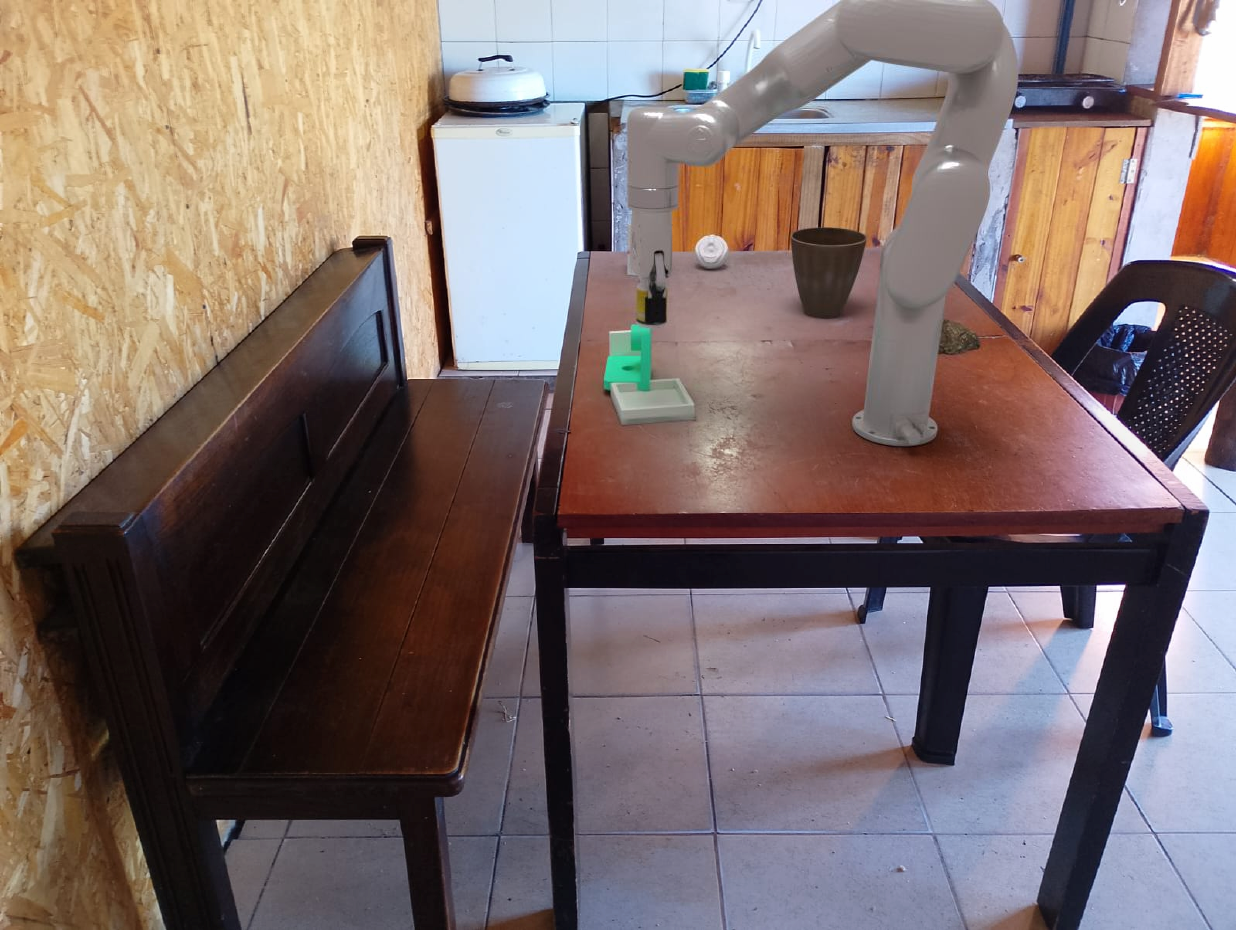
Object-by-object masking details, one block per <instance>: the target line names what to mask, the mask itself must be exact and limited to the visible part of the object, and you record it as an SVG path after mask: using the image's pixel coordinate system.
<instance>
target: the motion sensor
mask: <svg viewBox="0 0 1236 930" xmlns="http://www.w3.org/2000/svg"><path fill="white" fill-rule="evenodd" d="M728 256H729V246H728V244H727V242H726V241H725V239H724V238H723V237H721V236H718V235H715V234H710V235H705V236H703V237H702V238H700V239H699V240H698V241H697V243H696V245H695V248H694V257H695V260H696V261H697V263H698V264H699V265H700V266H702V267H703V268H704V269H710V270H714V269H718V268H720V267H721V266H723V265H725V263H726V261H727V259H728V258H729V257H728Z"/></svg>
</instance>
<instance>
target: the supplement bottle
mask: <svg viewBox="0 0 1236 930" xmlns="http://www.w3.org/2000/svg"><path fill="white" fill-rule="evenodd" d="M650 277H655V273H650ZM665 278H666V277H665ZM666 279H667V278H666ZM639 280H640V281H641V282H639ZM653 284H655V281H651V287H652V285H653ZM645 297H647V285H646V277H644V279H640V278H639V277H638V283H637V285H636V325H638V326H640V327H644V328H651V329H661V328H662V327H664V326H666V325H667V322H668V319H667V318H668V284H667V283H666V321H665V322H664V323H646V322H645Z"/></svg>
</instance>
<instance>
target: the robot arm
mask: <svg viewBox="0 0 1236 930" xmlns="http://www.w3.org/2000/svg"><path fill="white" fill-rule="evenodd" d="M871 61H873V62H879V63H884V64H891V65H896V66H902V67H909V68H910V67H911V68H917V69H924V70H931V71H937V72H944V73H948V74H947V75H948V83H947V84H948V85H947V90H946V94H945V97H944V100H943V103H942V106H941V108H940V112H939V113H938V118H937V120H936V123H935V125H934V128H933V130H932V134H931V135H930V138H929V139H928V143H927V146H926V148H925V150H924V152H923V155H922V156H921V159H920V161H919V163H918V164H917V166H916V168H915V171H914V173H913V176H912V181H911V194H910V196H909V200H908V202H907V204H906V208H905V210H904V211H903V215H902V218H901V221H900V223H899V225H898V226H896V227H895V228H894V229H893V230H892V231H890V233H889V235H888V236H887V237H886V239H885V241H884V243H883V245H882V249H881V252H880V261H879V274H878V284H877V296H876V306H875V315H874V322H873V329H872V337H871V339H872V340H871V345H870V346H871V347H870V356H869V364H868V372H867V380H866V381H867V383H866V390H865V399H864V400H865V401H864V408H863V409H862V410H860V411H858V412H857V413H856V414H855V415H854V416H853V417H852V422H851V426H852V429H853V431H855V433H856V434H858V436H860V437H862V438H864V439H866V440H868V441H870V442H874V443H877V444H882V445H886V446H893V447H912V446H919V445H925V444H926V443H930V442H931V441H933V440H934V439H935V438H936V437H937V434H938V424H937V423H936V421H935V420H934V419H933V418H931V417H930V409H931V404H932V403H931V401H932V395H933V388H934V382H935V376H936V368H937V363H938V362H937V361H938V355H939V354H938V349H939V342H940V337H941V331H942V324H943V319H944V316H945V315H944V314H945V307H946V302H947V301H946V299H947V294H948V293H949V292H950V291H951V289H952V288H953V287H954V284H955V282H956V281H957V278H958V277H959V274H960V272H961V270H962V268H963V265H964V262H965V261H966V258H967V256H968V254H969V252H970V249H971V247H972V245H973V242H974V240H975V238H976V236H977V233H978V231H979V229H980V227H981V224H982V222H983V219H984V217H985V214H986V211H987V208H988V206H989V201H990V197H991V182H990V180H991V179H990V178H989V175H988V172H989V169H990V165H991V164H992V160H993V158H994V155H995V153H996V151H997V148H998V146H999V143H1000V140H1001V139H1002V135H1003V133H1004V130H1005V127H1006V125H1007V122H1008V120H1009V116H1010V114H1011V111H1012V110H1013V109H1012V108H1013V105H1014V103H1015V99H1016V95H1017V89H1018V85H1019V84H1018V83H1019V61H1018V55H1017V51H1016V47H1015V43H1014V40H1013V37H1012V35H1011V33H1010V31H1009V29H1008V27H1007V26H1006V24H1005V23H1004V20H1003V17H1002V14H1001V12H1000V10H999V9H998V8H997V6H996V5H994V4H993V3H992V2H991V1H989V0H839V1H838V2H836V3H835V4H833V5H832V6H831V7H830V8H828V9H827V10H825V11H824V12H823V13H821V14H819V16H817V17H815V18H814V19H812V20H811V21H810V22H809V23H808V24H806V25H804V26H803V27H801V29H799V30H797V31H796V32H795V33H793V34H792V35H791V36H789V37H788V38H786V39H785V40H784V41H782V42H781V43H780V44H778V45H777V46H775V47H774V48H773V49H771V51H769V52H768V53H767V54H766V55H765V56H764V57H763V59H761V61H760V62H759V63H757V65H756V66H754V67H753V68H752V69H750V70H749V71H748V72H747V73H745V74H744V75H743V76H741V77H740V78H738V79H737V80H736V81H734V82H733V83H732V84H730V85H729V86H728V87H726V88H724V89H723V90H722V91H720V92H719V93H718V94H716V95H715V96H713V97H712V98H710V99H709V100H708V101H706V102H705V103H703V104H702V105H700V106H698V107H697V108H696V109H695V110H691V111H688V112H685V111H684V112H678V111H676V110H675V109H673V108H670V107H665V106H645V107H644V106H643V107H637V108H634V109H632V110H631V111H630V112H629V113H628V116H627V120H626V121H627V122H626V125H627V126H626V138H627V139H626V142H627V143H626V156H627V157H626V159H627V160H626V162H627V163H626V167H627V169H626V170H627V171H626V172H627V173H626V174H627V177H626V178H627V179H626V182H627V186H626V190H627V191H626V192H627V193H626V194H627V196H626V197H627V198H626V199H627V201H626V202H627V205H626V206H627V207H626V208H627V209H628V210H631V218H630V221H631V222H630V223H631V237H630V265H631V267H632V269H633V270H634V272H635V273H636V275H637V276H636V277H638V283H639V282H641V281H640V280H639V278H640V279H644V277H646V285H647V297H645V322H646V323H664V322H665V321H666V284H667V282H666V279H668V278H670V276H671V275H672V271H673V269H672V268H673V216H672V213H673V212H672V211H675V210H677V209H678V208H679V191H680V190H679V187H680V185H679V184H680V183H679V182H680V164H682V165H687V166H690V167H691V166H692V167H698V168H701V167H703V168H707V167H711V166H714V165H715V164H717V163H719V162H720V161H721V160H722V159H724V157H725V156H726V155H727V153H728V152H730V151H731V150H732V149H733V148H734V147H736V146H737V145H738V144H740V143H742V142H743V141H745V140H746V139H747V138H748V137H750V136H751V135H752V134H754V133H756V132H757V131H758V130H760V129H761V128H763V127H764V126H765V125H768V124H769V123H770V122H772V121H774V120H775V119H778V118H779V117H781V116H782V115H784V114H787V113H788V112H791V111H794V110H798V109H800V108H802V107H805V106H806V105H808V104H809V103H811V102H812V101H814V100H815V99H816V100H817V98H818V97H820V96H821V95H822V94H824V93H826V92H827V91H828V90H830V89H831V88H832V87H834V86H835V85H837V84H839V83H840V82H843V80H844V79H846V78H847V77H849V76H850V75H852V74H853V73H855V72H856V71H858V70H859V69H860V68H862V67H864V66H865V65H867V64H868V63H870V62H871ZM650 273H655V277H650ZM665 277H666V278H665ZM651 281H655V284H653V285H652V287H651Z"/></svg>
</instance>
